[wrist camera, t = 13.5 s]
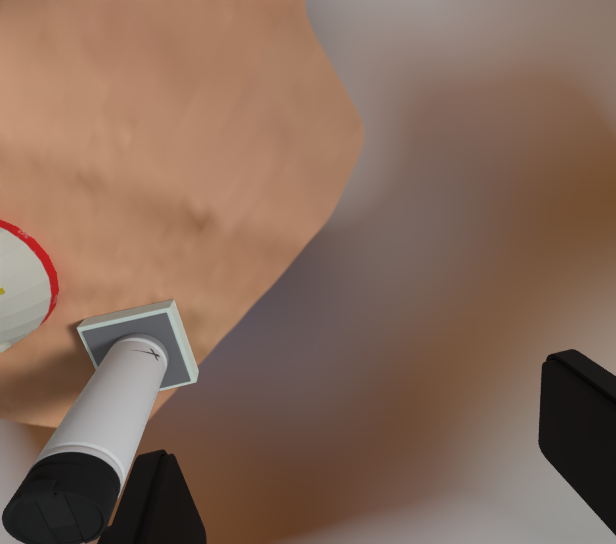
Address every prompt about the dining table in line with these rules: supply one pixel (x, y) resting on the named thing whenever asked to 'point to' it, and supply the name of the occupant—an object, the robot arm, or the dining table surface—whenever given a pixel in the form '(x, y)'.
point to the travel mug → (90, 449)
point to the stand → (150, 321)
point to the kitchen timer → (23, 285)
